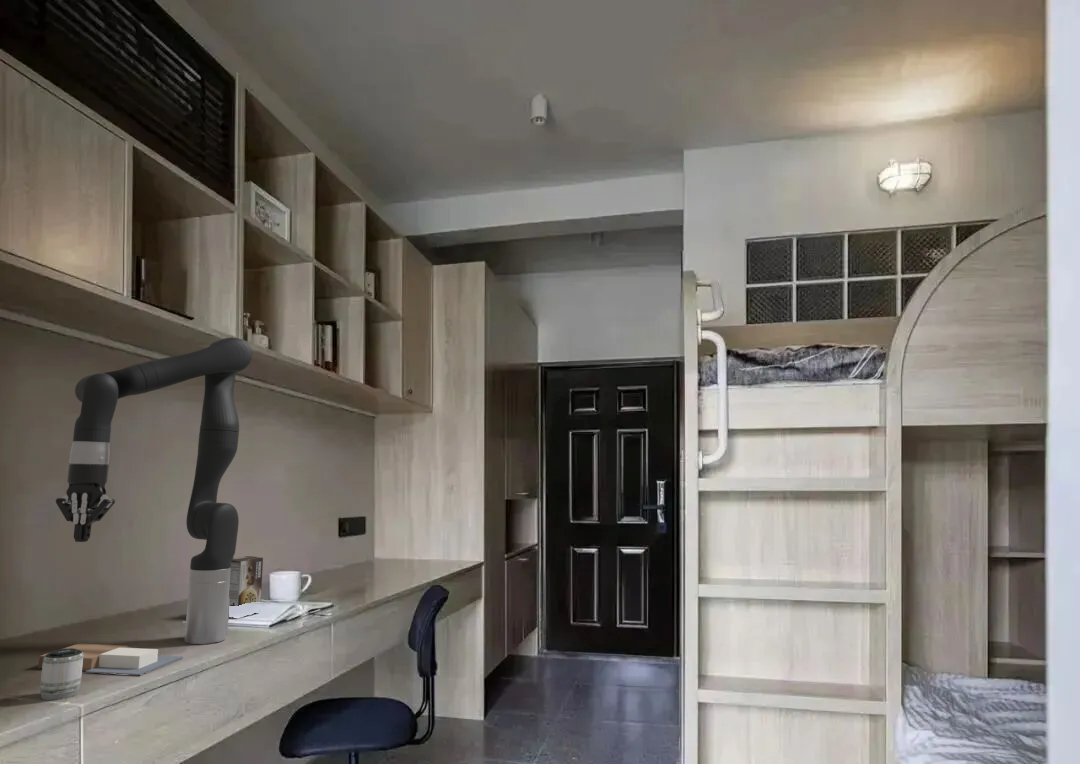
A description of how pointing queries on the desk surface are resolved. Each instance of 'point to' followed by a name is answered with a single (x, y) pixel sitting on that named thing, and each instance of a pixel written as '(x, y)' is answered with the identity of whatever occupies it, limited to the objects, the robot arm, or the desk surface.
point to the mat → (160, 662)
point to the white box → (128, 658)
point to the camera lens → (61, 674)
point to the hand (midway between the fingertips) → (81, 541)
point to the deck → (88, 654)
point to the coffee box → (245, 580)
